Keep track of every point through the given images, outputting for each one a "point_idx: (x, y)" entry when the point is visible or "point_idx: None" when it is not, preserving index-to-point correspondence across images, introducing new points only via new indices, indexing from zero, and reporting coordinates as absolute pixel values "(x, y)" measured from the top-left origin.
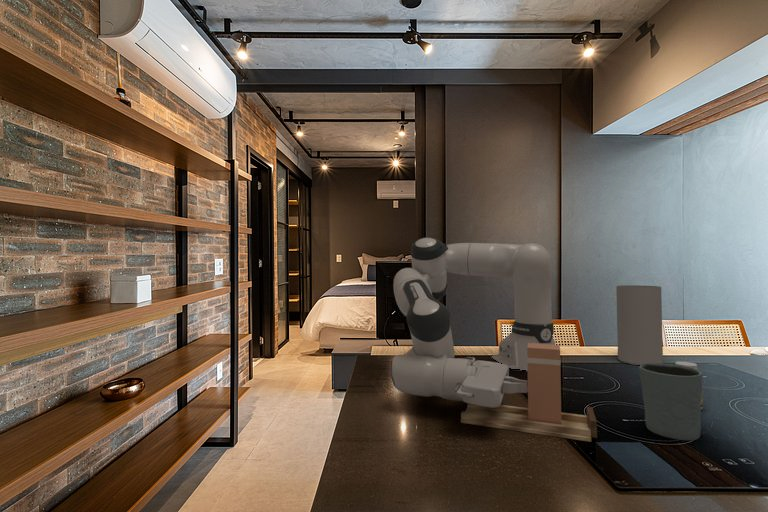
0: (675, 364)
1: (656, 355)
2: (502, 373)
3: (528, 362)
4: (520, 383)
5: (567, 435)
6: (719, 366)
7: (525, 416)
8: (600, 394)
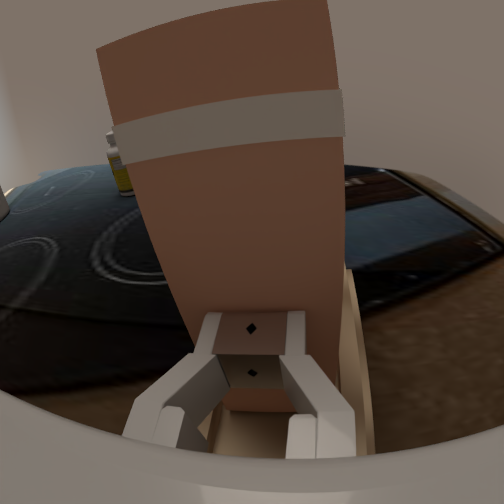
0: (111, 136)
1: (3, 199)
2: (133, 459)
3: (341, 130)
4: (297, 342)
5: (358, 310)
6: (36, 183)
7: (232, 427)
8: (62, 257)
